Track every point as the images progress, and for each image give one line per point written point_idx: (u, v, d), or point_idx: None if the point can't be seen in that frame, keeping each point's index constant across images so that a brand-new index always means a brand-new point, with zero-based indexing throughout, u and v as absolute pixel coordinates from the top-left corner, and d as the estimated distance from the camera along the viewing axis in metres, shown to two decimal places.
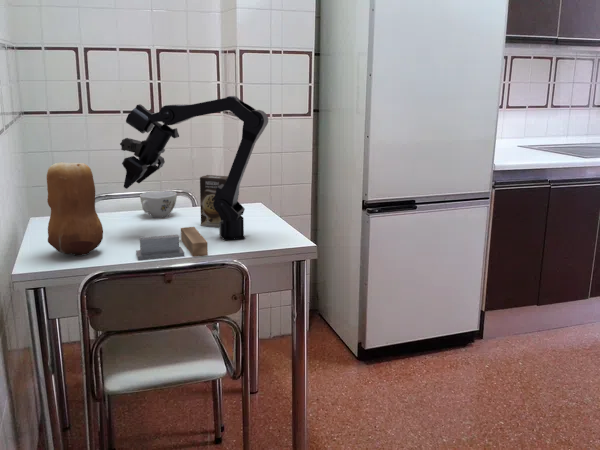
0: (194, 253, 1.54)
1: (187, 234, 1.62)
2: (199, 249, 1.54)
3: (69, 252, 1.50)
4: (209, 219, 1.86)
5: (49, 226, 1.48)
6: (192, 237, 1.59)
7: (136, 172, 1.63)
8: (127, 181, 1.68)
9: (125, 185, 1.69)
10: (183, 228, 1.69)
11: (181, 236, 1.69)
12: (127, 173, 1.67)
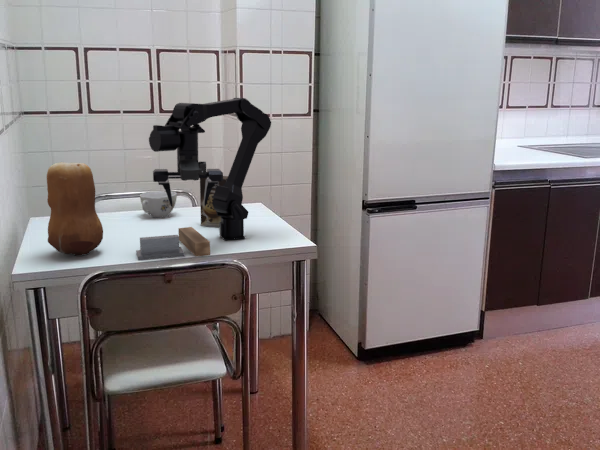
0: (197, 253, 1.54)
1: (187, 234, 1.62)
2: (201, 249, 1.54)
3: (69, 252, 1.50)
4: (209, 219, 1.86)
5: (49, 226, 1.48)
6: (193, 237, 1.59)
7: None
8: (207, 197, 1.61)
9: (205, 203, 1.61)
10: (181, 228, 1.68)
11: (179, 236, 1.69)
12: None
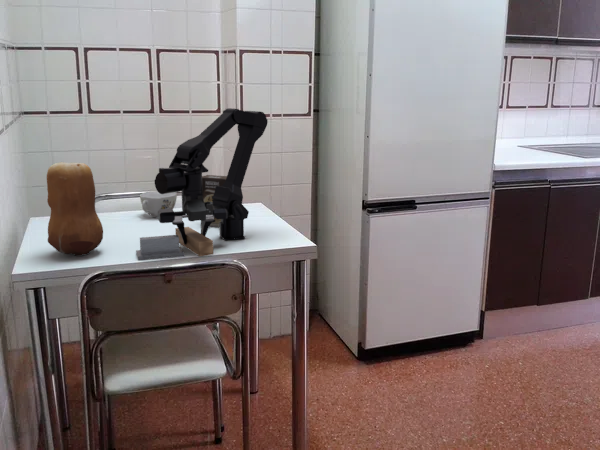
0: (200, 252, 1.54)
1: (187, 234, 1.62)
2: (205, 248, 1.55)
3: (69, 252, 1.50)
4: None
5: (49, 226, 1.48)
6: (194, 237, 1.59)
7: None
8: None
9: None
10: None
11: None
12: None
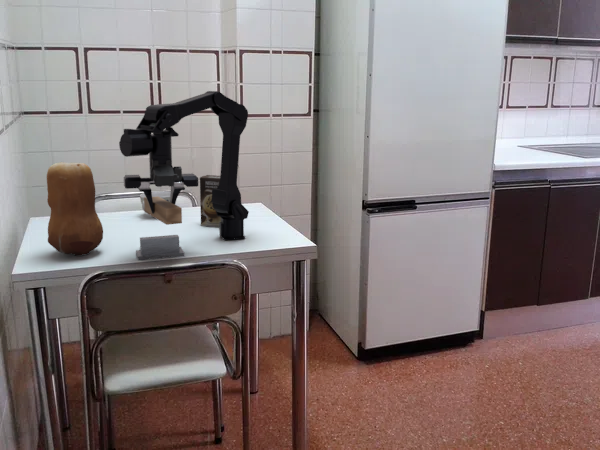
0: (168, 220, 1.45)
1: (155, 202, 1.52)
2: (173, 215, 1.45)
3: (69, 252, 1.50)
4: (209, 219, 1.86)
5: (49, 226, 1.48)
6: (162, 204, 1.49)
7: None
8: None
9: None
10: None
11: (145, 206, 1.58)
12: None
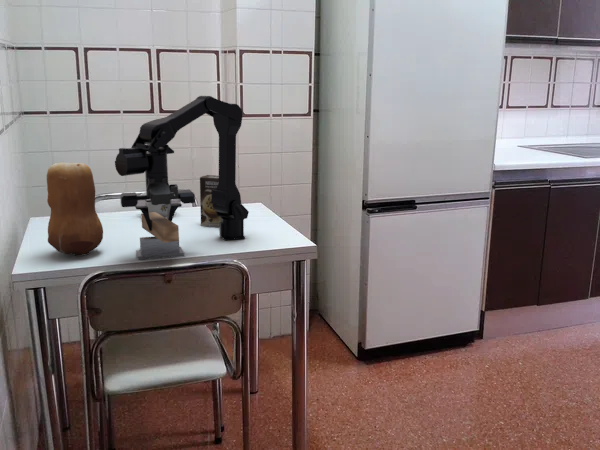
0: (165, 238, 1.45)
1: (152, 219, 1.52)
2: (170, 233, 1.45)
3: (69, 252, 1.50)
4: (209, 219, 1.86)
5: (49, 226, 1.48)
6: (159, 222, 1.50)
7: None
8: None
9: None
10: None
11: (142, 222, 1.59)
12: None
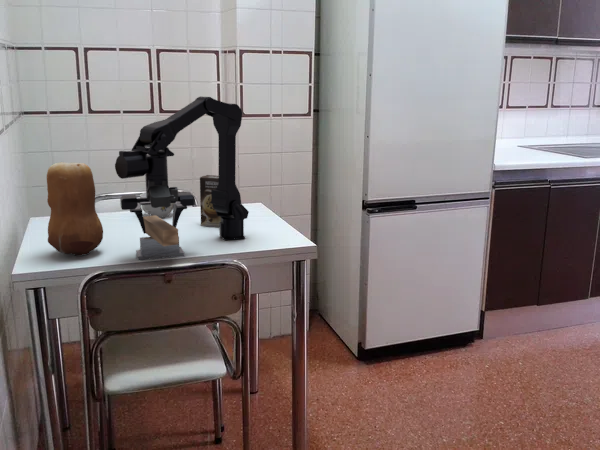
0: (164, 241, 1.45)
1: (152, 222, 1.53)
2: (169, 237, 1.46)
3: (69, 252, 1.50)
4: (209, 219, 1.86)
5: (49, 226, 1.48)
6: (159, 225, 1.50)
7: None
8: None
9: None
10: (145, 217, 1.59)
11: None
12: None
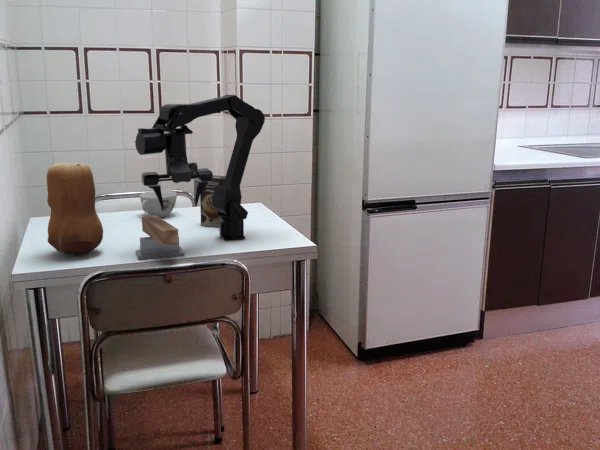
0: (164, 241, 1.45)
1: (152, 222, 1.53)
2: (169, 237, 1.46)
3: (69, 252, 1.50)
4: (209, 219, 1.86)
5: (49, 226, 1.48)
6: (159, 225, 1.50)
7: None
8: None
9: None
10: (145, 217, 1.59)
11: (143, 226, 1.59)
12: None
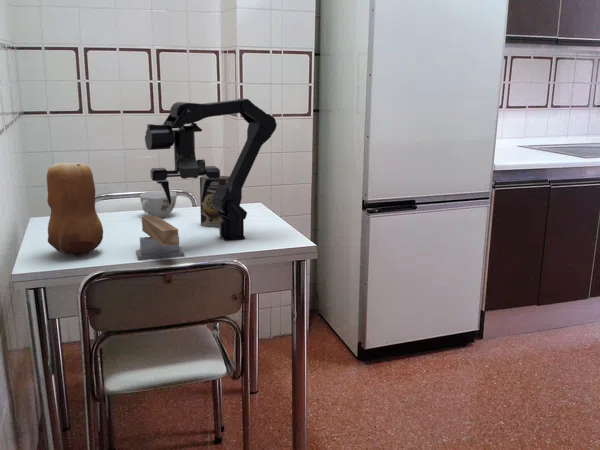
0: (164, 241, 1.45)
1: (152, 222, 1.53)
2: (169, 237, 1.46)
3: (69, 252, 1.50)
4: (209, 219, 1.86)
5: (49, 226, 1.48)
6: (159, 225, 1.50)
7: None
8: None
9: None
10: (145, 217, 1.59)
11: (143, 226, 1.59)
12: None
